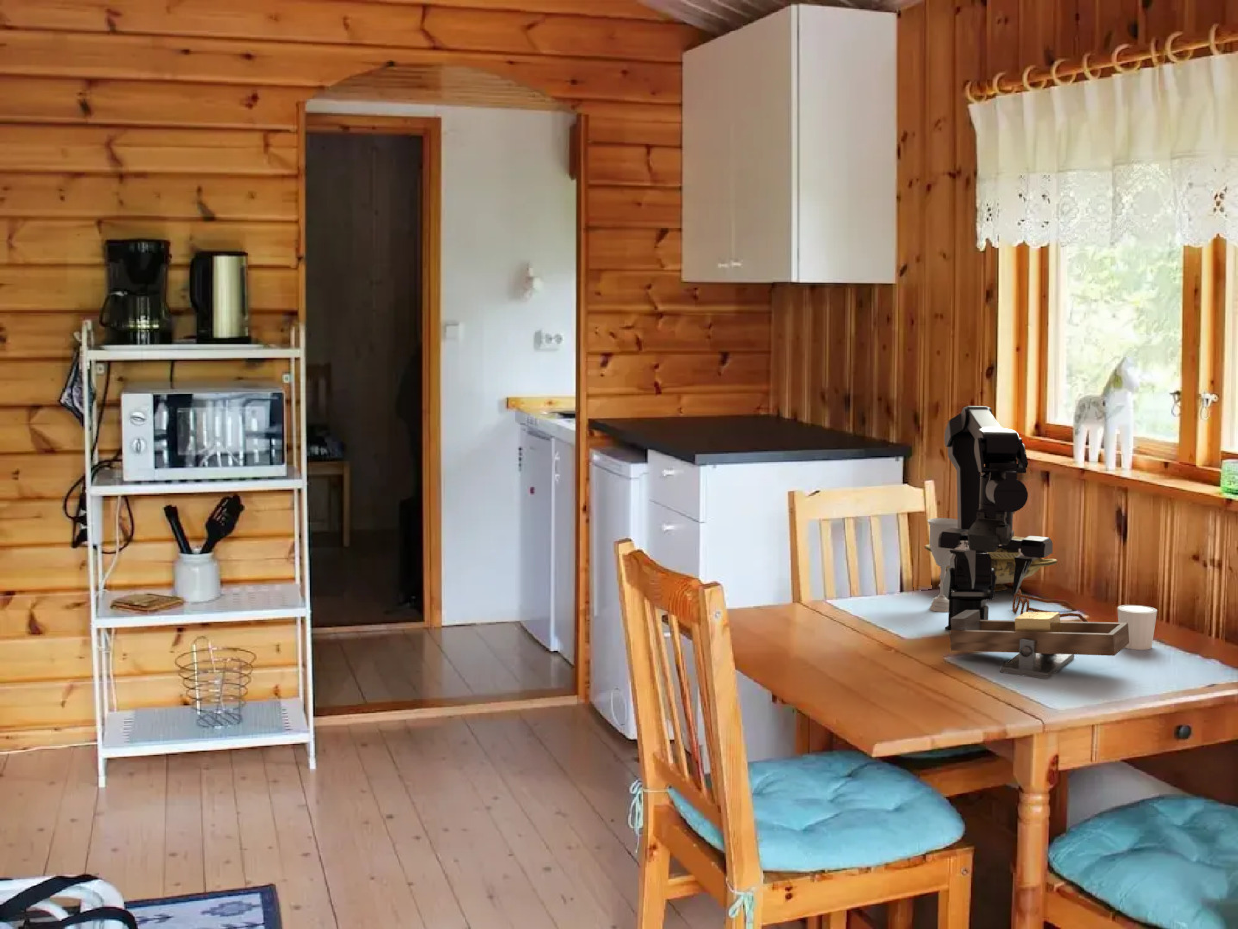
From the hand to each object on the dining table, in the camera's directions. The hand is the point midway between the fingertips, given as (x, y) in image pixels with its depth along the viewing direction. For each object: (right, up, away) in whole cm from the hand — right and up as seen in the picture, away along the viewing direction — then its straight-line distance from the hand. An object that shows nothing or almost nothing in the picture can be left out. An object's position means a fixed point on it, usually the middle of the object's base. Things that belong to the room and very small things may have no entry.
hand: (993, 591), depth 256 cm
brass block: (+7, -8, -4) cm, 11 cm away
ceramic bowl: (+14, -5, +60) cm, 61 cm away
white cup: (+29, -11, +10) cm, 32 cm away
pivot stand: (+7, -13, -3) cm, 15 cm away
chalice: (0, -7, +39) cm, 40 cm away
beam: (+7, -9, -4) cm, 12 cm away
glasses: (+20, -9, +33) cm, 39 cm away
